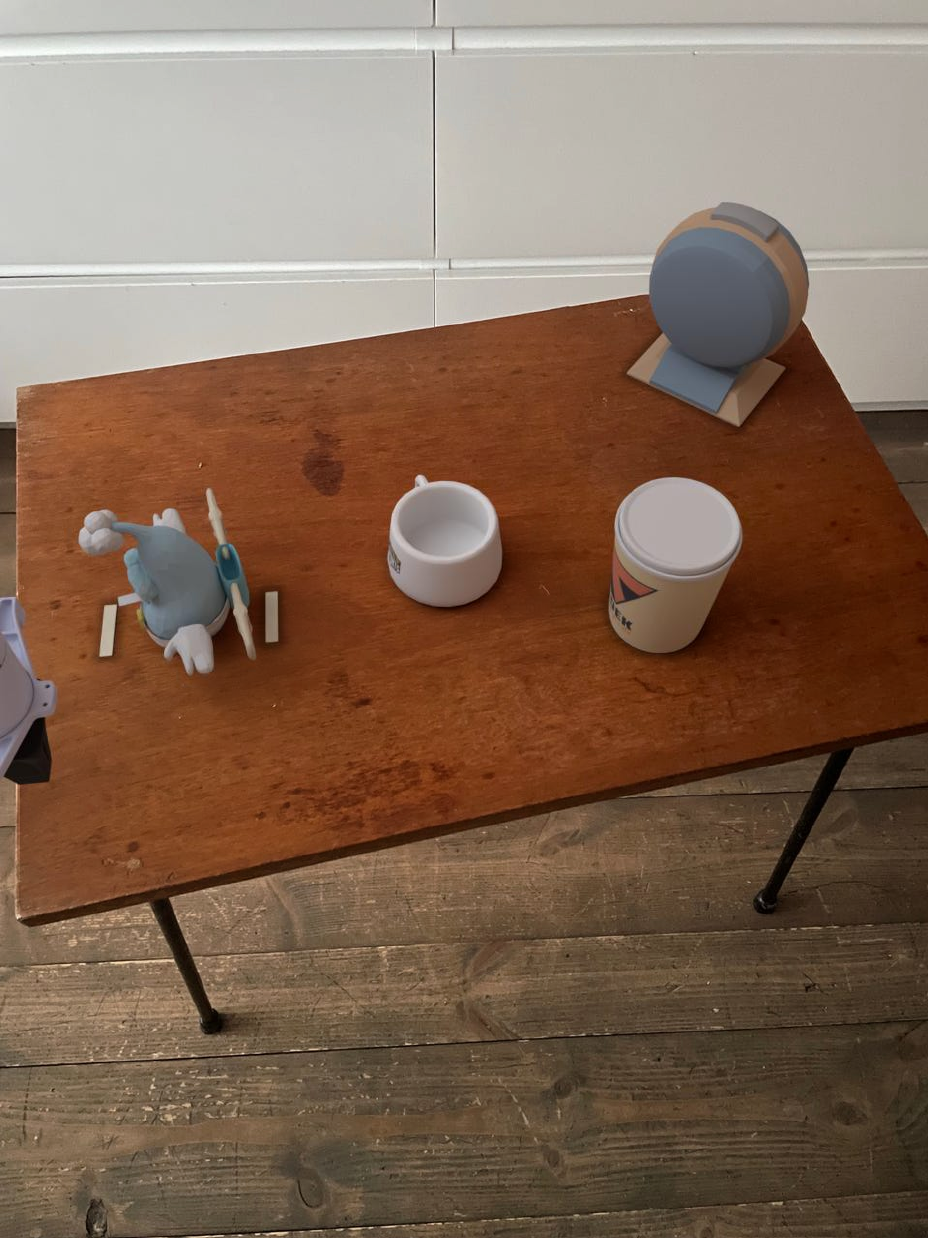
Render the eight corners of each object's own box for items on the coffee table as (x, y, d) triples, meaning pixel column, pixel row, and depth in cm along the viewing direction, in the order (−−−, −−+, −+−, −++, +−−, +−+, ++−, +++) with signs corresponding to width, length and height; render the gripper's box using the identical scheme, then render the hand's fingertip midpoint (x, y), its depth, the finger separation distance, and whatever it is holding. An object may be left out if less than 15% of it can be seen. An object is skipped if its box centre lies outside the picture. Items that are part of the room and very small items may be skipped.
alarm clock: (794, 373, 104) (849, 214, 89) (748, 431, 99) (798, 274, 85) (666, 316, 108) (699, 156, 94) (617, 369, 104) (643, 210, 89)
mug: (518, 593, 88) (522, 548, 84) (408, 625, 87) (405, 581, 82) (470, 490, 95) (471, 443, 90) (366, 518, 93) (361, 471, 88)
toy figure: (111, 563, 90) (56, 438, 78) (233, 533, 92) (199, 407, 80) (141, 728, 81) (84, 616, 69) (275, 691, 83) (244, 576, 71)
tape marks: (99, 657, 85) (99, 656, 85) (104, 606, 88) (104, 605, 87) (278, 641, 86) (278, 641, 86) (277, 592, 88) (277, 591, 88)
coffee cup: (588, 575, 90) (604, 479, 80) (696, 564, 90) (726, 468, 80) (610, 668, 84) (631, 578, 74) (725, 656, 85) (760, 565, 75)
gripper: (9, 775, 52) (88, 876, 64) (43, 546, 61) (108, 671, 72) (-138, 789, 52) (-33, 888, 63) (-84, 556, 60) (1, 680, 71)
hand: (34, 773), depth 67 cm, fingers closed
